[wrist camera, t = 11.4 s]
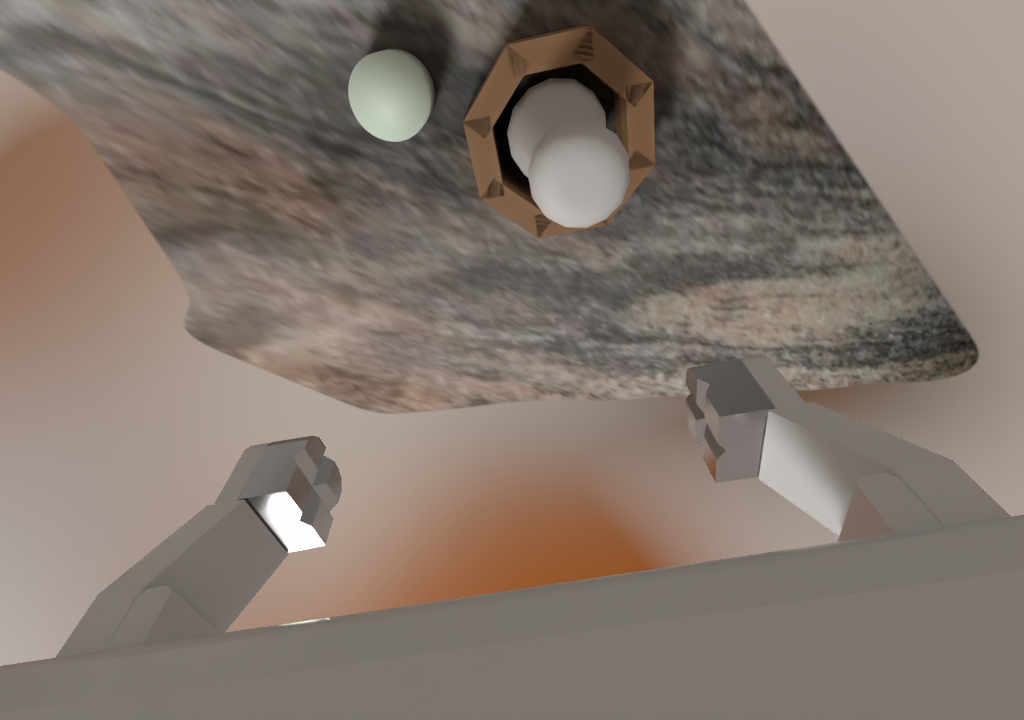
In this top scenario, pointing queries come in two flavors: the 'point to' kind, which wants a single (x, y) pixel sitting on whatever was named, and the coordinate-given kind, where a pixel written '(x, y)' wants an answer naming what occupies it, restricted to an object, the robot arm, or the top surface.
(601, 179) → the salt shaker
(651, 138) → the walnut ring
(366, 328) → the top surface
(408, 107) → the smooth pale green pebble
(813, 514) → the robot arm
